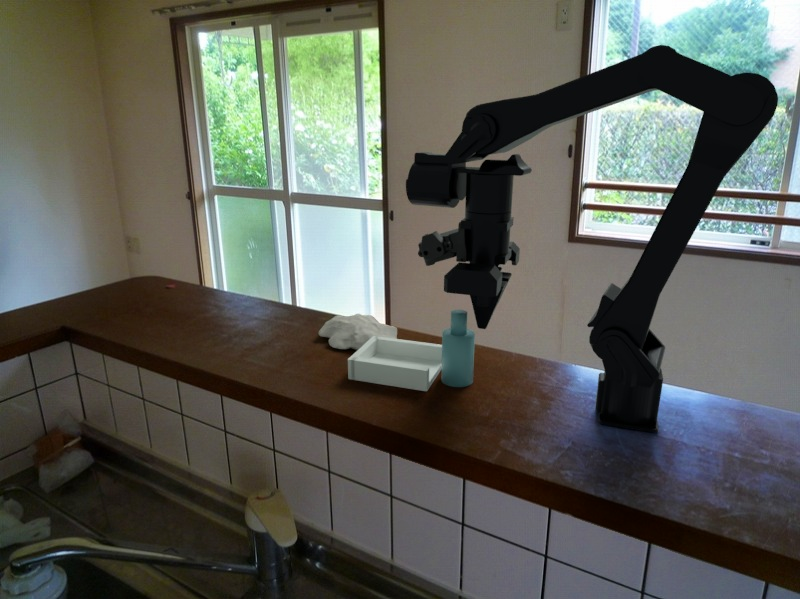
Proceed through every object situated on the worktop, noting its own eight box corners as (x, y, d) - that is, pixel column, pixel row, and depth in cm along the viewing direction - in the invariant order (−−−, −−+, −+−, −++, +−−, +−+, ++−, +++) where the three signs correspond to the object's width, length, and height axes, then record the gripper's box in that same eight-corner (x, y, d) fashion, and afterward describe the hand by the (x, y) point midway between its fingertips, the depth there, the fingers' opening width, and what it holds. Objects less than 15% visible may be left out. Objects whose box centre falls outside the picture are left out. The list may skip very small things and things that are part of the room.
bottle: (476, 376, 78) (478, 309, 75) (469, 389, 75) (471, 319, 72) (446, 371, 80) (447, 305, 77) (437, 384, 76) (438, 315, 73)
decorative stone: (305, 344, 91) (379, 373, 84) (303, 324, 90) (378, 352, 82) (346, 317, 99) (417, 341, 92) (345, 298, 98) (417, 322, 90)
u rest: (445, 363, 82) (445, 345, 82) (426, 391, 74) (426, 370, 73) (373, 353, 86) (373, 335, 85) (348, 379, 78) (347, 359, 77)
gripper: (445, 198, 80) (442, 301, 85) (402, 218, 63) (401, 345, 68) (523, 202, 76) (516, 309, 81) (499, 224, 60) (492, 358, 64)
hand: (482, 327), depth 74 cm, fingers closed
